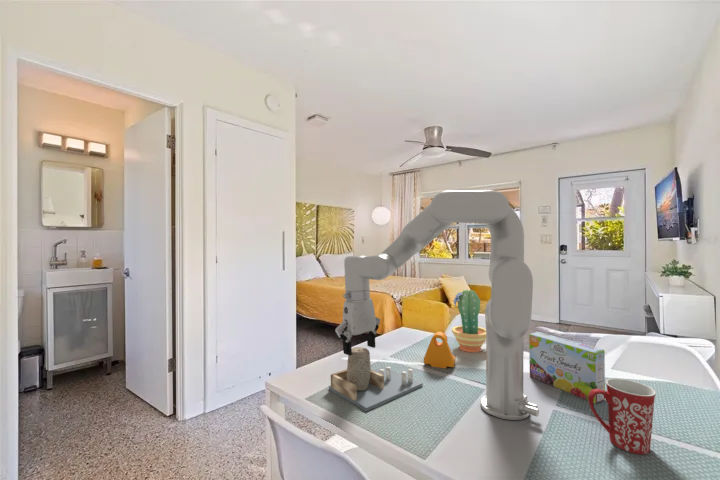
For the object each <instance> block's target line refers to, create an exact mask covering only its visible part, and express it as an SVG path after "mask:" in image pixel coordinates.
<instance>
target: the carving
mask: <svg viewBox="0 0 720 480" xmlns="http://www.w3.org/2000/svg"><path fill="white" fill-rule="evenodd" d="M351 350H352V354H351V355H350V356H349V355H347V356H348V357H347V368H346V369H347V381H348V382H350V383H352V384H354V385H356V386H357V391H363V390H366V389H367V387H368V384H369V380H370V372H371V370H372V369H371V367H372V364H371V357H370V350H368V348H365V347H362V346H356V347H351Z"/></svg>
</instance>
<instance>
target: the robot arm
mask: <svg viewBox="0 0 720 480" xmlns="http://www.w3.org/2000/svg"><path fill="white" fill-rule="evenodd" d="M453 223H455V224H456V223H458V224H459V223H461V224H483V225H485V226H486V227H487V229H488V230H489V234H490V257H489V260H490V261H489V268H488V277H489V280H490V281H489V282H491V284H490V285H491V287H490V298H489V300H488V301H487V303H486V305H485V309H484V319H485V320H484V321H485V323H484V324H485V329H486V340H485V342H486V343H485V359H486V360H485V370H486V371H485V373H486V374H485V375H486V376H485V378H486V379H485V382H486V383H485V386H486V387H485V388H486V389H485V394H486V395H484V396H482V397H481V399H480V402H479V403H480V407H481V409H482V410H483V411H484V412H486V413H487V414H489V415H491V416H493V417H495V418H498V419H502V420H506V421H507V420H508V421H520V420H525V419H526V418H528V417H529V416H530V415H531V416H534V417H536V418H537V417H538V416H539V414H540V410H539V407H538V405H537V404H534V403H533V402H532V403H531V402H529V400H528V395H526V394H524V336H525V334H527V332H528V331H529V329H530V326H531V322H532V321H531V320H532V311H533V289H534V287H533V286H534V279H533V273H532V270H531V269H530V267H529V266H528V264H527V263H526V262H525V230H524V227H523V223H522V220H521V219H520V217H519V216H518V214H517V212H516V211H515V209H513V208H512V207H511V206H510V202H509V200H508V198H507V196H505V194H504V193H502V192H501V191H497V190H493V189H490V190H489V189H488V190H487V189H485V190H484V189H483V190H481V189H480V190H443V191H441V192H438V193H436V195H434V196H433V198H432V199H431V202H430V203H429V204H428V205H427V206H426V207H425V208H424V209H423V210H422V211H421V212H419V213H418V214H417V215H416V216H415V217H414V218H412V219H411V220H410V221H409V222H408V223H407V224H406V225H405V226H404V227H403V229H402V230H401V232H400V234H399V236H398V237H397V238H396V239H395V240H394V241H393V242H392V243H391V244H389V246H387V247H386V248H385V249H384V250H382V252H381V253H380V254H379V253H378V254H375V255H368V256H366V255H349V256H346V257H345V258H344V261H343V262H344V285H345V286H344V289H345V293H343V295H342V297H343V298H344V299H345V300H344V302H343V307H342V308H343V309H342V310H343V311H342V321H341V323H340V324H339V325H337V327H336V328H335V333H336V335H337V337H338V338H339V339H340V341H341V342H342V351H343V354H344V355H346V356H350V355H351V354H352V350H351V349H352V342H351V339H352V337H353V336H358V335H362V334H365V333H367V334H366V338H367V339H366V342H367V343H366V344H367V347H369V348H370V347H371V348H373V349H375V348H376V335H377V332H378V330H379V325H380V323H381V318H379V317H377V316H376V312H375V306H374V303H373V302H374V301H373V298H371V295H370V293H371V292H370V280H374V281H382V280H385V279H387V278H388V277H390V276H392V275H393V274H394V273H395V272H396V271H398V269H400V268H401V267H402V266H403V265H404V264H405V263H407V262H408V261H409V260H411V258H412V257H414V256H415V255H417V254H418V253H419V252H421V251H422V250H424V248H426V247H427V246H428V245H429V244H430V243H431V242H432V241H434V240H435V239H436V238H437V237H439V236H440V235H441V234H442V233H443V232H444V231H445V230H447V229H448V228H449V227H450V226H451V225H452V224H453Z"/></svg>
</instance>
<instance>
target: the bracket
mask: <svg viewBox="0 0 720 480" xmlns="http://www.w3.org/2000/svg"><path fill="white" fill-rule="evenodd" d="M437 339H440V340H441V342H439V341H438V340H437ZM455 363H456V355H453V353H452V351H451V347H450V346H449V343H448V336H447V334H446V333H445V332H443V331H436V332H435V333H434V334H433V336H432V337H431V339H430V342H429V344H428V346H427V349H426V351H425V355H424V357H423V364H427V365H430V367H433V368H439V369H447V368H448V367H449V368H454V367H455Z"/></svg>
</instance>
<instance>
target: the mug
mask: <svg viewBox="0 0 720 480" xmlns="http://www.w3.org/2000/svg"><path fill="white" fill-rule="evenodd" d="M605 385H606V390H605V391H604V390H601V389H593V390H591V391H590V392H589V395H588V401H587V402H588V406H589V409H590V410H591V412H592V414H593V415H594V417H595V418H596V420H597V421H598V423H600V425H601V426H602V427H603V428H604V429H605V431H606V432H607V433H608V436H609V440H610V442H611V443H612V444H613V445H614V446H615V447H617V448H619V449H621V450H623V451H626V452H629V453H632V454H635V455H648V454H649V453H650V452H651V444H652V433H653V432H652V431H653V419H654V410H655V397H656V395H657V392H656V390H655V389H654V388H652V387H651V386H649V385H647V384H644V383H641V382H637V381H635V380H630V379H624V378H616V377H615V378H608V379H606V380H605ZM597 394H602V395H603V396H604V397H605V402H606V403H607V411H608V412H607V414H608V417H607V418H608V424H607V423H606V422H605V421H604V420H603V419H602V418H601V416H600V415H599V414H598V413H597V411H596V408H595V406H594V403H593V399H594V397H595V395H597Z"/></svg>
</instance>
